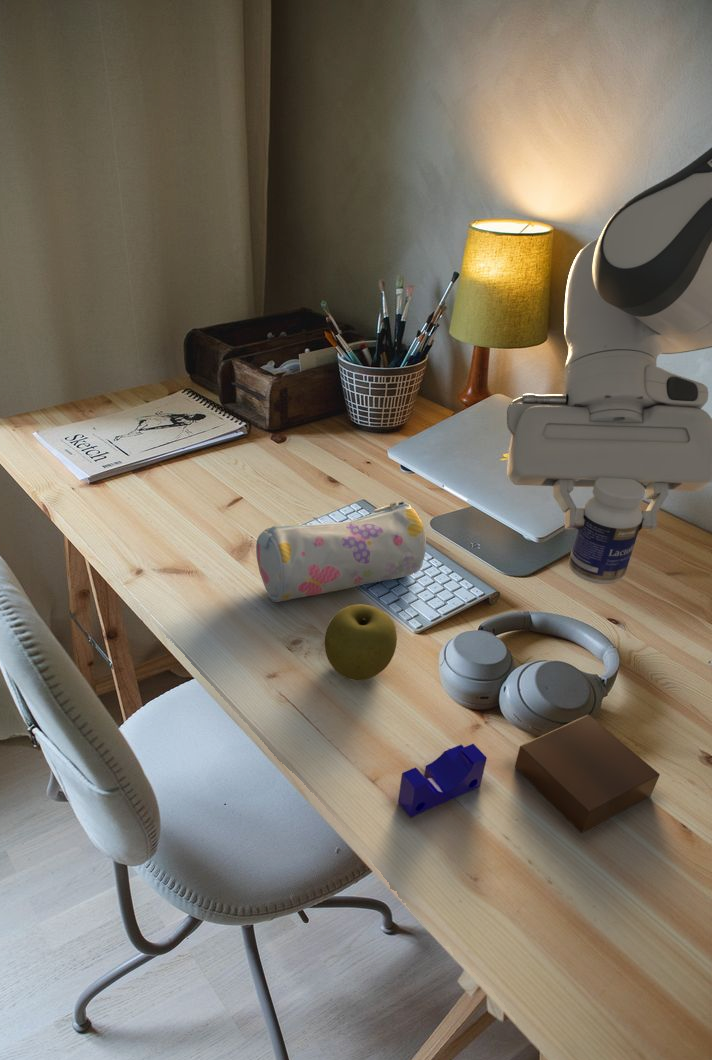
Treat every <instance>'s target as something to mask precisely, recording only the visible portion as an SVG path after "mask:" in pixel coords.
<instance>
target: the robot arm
mask: <svg viewBox="0 0 712 1060" xmlns="http://www.w3.org/2000/svg"><path fill="white" fill-rule="evenodd" d="M563 324H564V325H563V326H564V328H563V330H564V331H563V332H564V339H565V342H566V344H567V351H568V352H567V353H568V354H567V359H566V361H565V365H564V381H563V382H564V383H563V384H564V389H563V392H564V394H535V393H524V394H522V395H521V397H518V398H515V399H514V400H512V401H511V402H510V404H509V405H508V407H507V409H506V427H507V430H508V431H509V433H510V434H511V438H510V442H509V448H508V455H507V464H506V476H507V477H508V479H509V480H510V481H511V483H512V484H513V485H515V486H530V487H531V486H532V487H535V486H536V487H553V499H554V500H555V501H556V503H557V505H558V506H559V507H560V510H561V511H562V512H563V513H564V528H565V530H577V529H581V528H583V527H584V524H585V519H584V518H583V517H584V515H585V509H583V508H579V507H577V506H576V504H575V501H574V500H573V499H572V497H571V495H570V493H571V492H573V491H574V488H590V489H591V488H592V489H593V488H594V485H595V482H596V480H597V479H598V478H600V477H603V478H620V479H633V480H635V481H637V482H639V483H640V484H641V485H642V486H643V487H644V488H645V499H646V500H650V502H649V504H648V505H647V508H646V509H645V510H642V514H643V518H642V522H641V525H640V528H639V532H646V533H652V532H654V531H655V530H656V529H657V528H658V512H659V510H660V509H661V508H662V505H663V504H664V503H665V501H666V500H667V497H668V496H669V491H678V492H679V491H683V492H698V491H700V490H702V489H704V488H706V487H707V486H708V485H710V484H711V483H712V417H711V415H710V414H709V412H707V411H706V410H704V409H702V408H703V407H704V406H705V405H706V404H707V402H708V400H709V388H708V387H707V386H706V385H705V384H703V383H702V382H700V381H697V380H693V379H690V378H687V377H685V376H681V375H678V374H676V373H672V372H670V371H668V370H666V369H664V368H661V367H659V366H657V360H658V357H659V355H673V354H675V355H676V354H683V353H689V352H695V351H701V350H706V349H711V348H712V147H710V148H709V149H707V150H706V151H705V152H704V153H702V154H701V155H700V156H699V157H697V158H696V159H695V160H693V161H692V162H690V163H689V164H688V165H687V166H685V167H684V168H682V169H681V170H679V171H677V172H675V173H674V174H673V175H671V176H669V177H667V178H666V179H664V180H662V181H660V182H658V183H656V184H654V185H652V186H650V187H648V188H647V189H645V190H644V191H642V192H640V193H639V194H636V195H635V196H634V197H632V198H631V199H629V200H628V201H627V202H626V203H624V204H623V205H621V207H620V208H618V209H617V211H615V213H614V214H612V216H611V217H610V219H609V220H608V221H607V223H606V224H605V226H604V227H603V230H602V231H601V233H600V235H599V237H597V238H595V239H594V240H592V241H590V242H589V243H587V244H586V245H585V246H584V247H583V248H582V249H580V251H579V252H578V253H577V255H576V257H575V259H574V260H573V263H572V265H571V267H570V270H569V274H568V278H567V283H566V289H565V298H564V322H563Z"/></svg>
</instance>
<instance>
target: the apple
mask: <svg viewBox="0 0 712 1060" xmlns="http://www.w3.org/2000/svg"><path fill="white" fill-rule="evenodd" d="M323 641H324V642H323V643H324V644H323V645H324V652H325V655H326V658H327V660H328V663H329V664H330V666H331V667H332V668H333V670H334V671H335V672H336V673H337V674H339V675H340V676H342V677H343V678H344V679H348V680H351V681H365V680H369V679H371V678H373V677H375V676H377V675H379V674H381V672H383V671H384V670H385V669H386V668H387V667H388V666H389V664H390V663H391V661H392V659H393V658H394V655H395V652H396V648H397V643H398V642H397V641H398V632H397V627H396V625H395V622H394V621H393V619H392V617H391V616H390V615H389V614H387V613H386V612H385V611H384V610H381V609H380V608H378V607H375V606H372V605H368V604H361V603H358V604H352V605H348V606H346V607H344V608H341V609H340V610H339V611H338V612H337V613H335V614H334V616H333V617H332V618H331V619H330V621H329V622H328V625H327V626H326V630H325V633H324V640H323Z"/></svg>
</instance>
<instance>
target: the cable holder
mask: <svg viewBox="0 0 712 1060" xmlns="http://www.w3.org/2000/svg"><path fill="white" fill-rule="evenodd" d="M487 759H488V757H487V756H486V755H485V754H484V753H483V752H482V751H481V750H480V749H479V747H478V746H477V745H475V743H471V744H468V745H466V746H464V745H463V744H459V745H456V746H453V747H451V748H449V749H446V750H444V751H443V752H442V753H441V754H440V756H438V757H437V758H436V759H435V760H433V761H432V762H431V763H428V764H427V765H425V769H424V775H423V774H422V772H420V770H419V769H418V768H417V767H413V768H410V769H408V770H406V771H403V772H402V773H401V779H400V786H399V792H398V798H397V799H398V800H397V803H398V805H399V806H400V807H401V808H402V810H403V811H404V812H405V813H406V815H407V816H408V817H409V818H413V817H415V816H417V815H420V814H422V813H424V812H427V811H429V810H431V809H433V808H436V807H438V806H439V805H443V804H445V803H447V802H449V801H451V800H453V799H456V798H458V797H460V796H462V795H463V796H464V795H465V794H467V793H470V792H471V791H474V790H476V789H478V788H481V784H482V780H483V776H484V771H485V767H486V764H487V763H486V762H487Z"/></svg>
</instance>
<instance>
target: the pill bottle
mask: <svg viewBox="0 0 712 1060" xmlns="http://www.w3.org/2000/svg"><path fill="white" fill-rule="evenodd" d="M592 495H593V496H592V497H590V498H588V499H587V500H586V501H585V503H584V505H583V507H582V509H585V515H584V517H583V518H584V519H585V524H584V527H583V528H581V529H576V533H575V537H574V539H573V540H574V541H573V544H572V547H571V551H570V554H569V555H570V556H569V560H568V566H569V568H570V570H571V572H572V573H573V574H574V575H575V576H576V577H578V578H580V579H581V580H584V581H586V582H589V583H592V584H599V585H610V584H615V583H617V582H619V581H621V580H622V579H623V578H624V577H625V575H626V572H627V569H628V566H629V563H630V560H631V558H632V554H633V549H634V547H635V544H636V540H637V537H638V535H639V532H640V531H639V528H640V525H641V522H642V518H643V514H642V511H643V510H642V508H641V507H640V505H642V503H643V500H644V498H645V495H646V489H645V488H644V487H643V486H642V485H641V484H640V483H639V482H637V481H635V480H633V479H620V478H603V477H600V478H598V479H597V480H596V482H595V485H594V488H592Z"/></svg>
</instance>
